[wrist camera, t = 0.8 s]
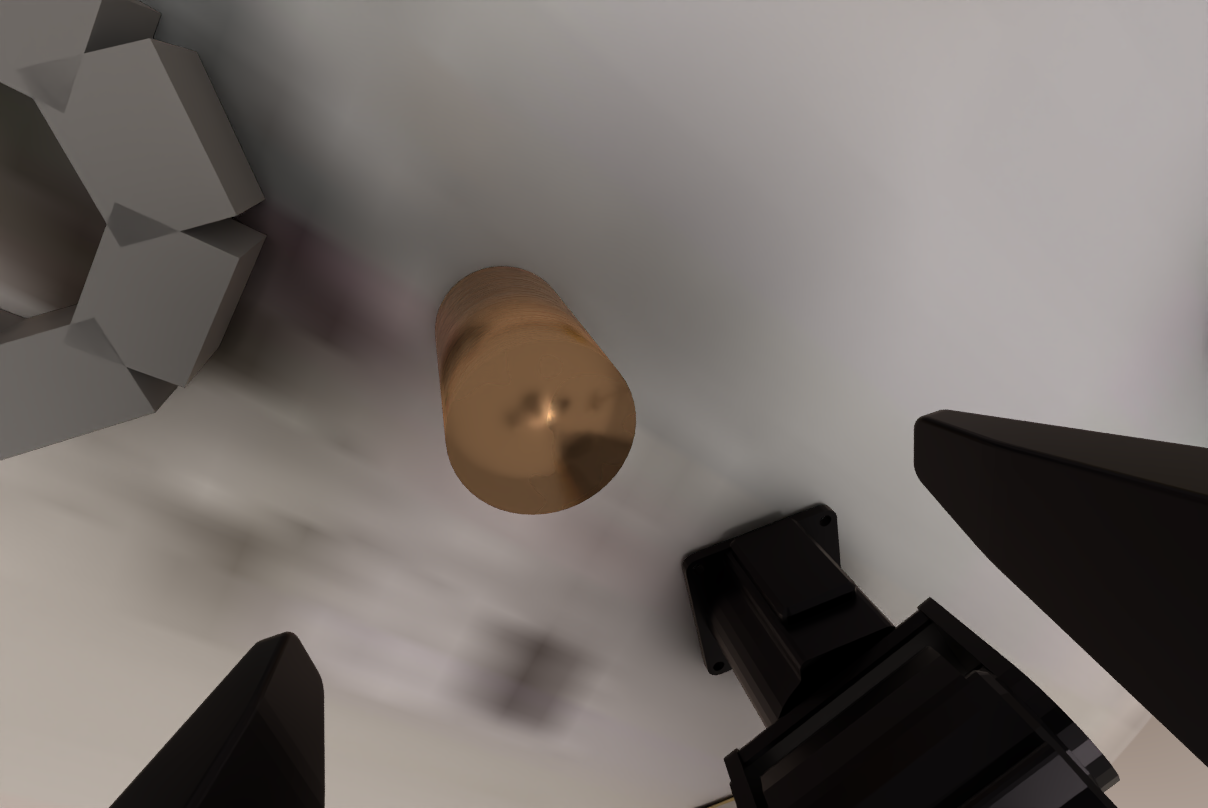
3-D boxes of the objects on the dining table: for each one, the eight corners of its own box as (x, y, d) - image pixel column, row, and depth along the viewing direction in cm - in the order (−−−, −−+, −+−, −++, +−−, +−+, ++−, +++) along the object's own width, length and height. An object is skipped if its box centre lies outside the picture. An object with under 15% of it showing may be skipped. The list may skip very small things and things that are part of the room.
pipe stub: (581, 369, 21) (652, 478, 15) (460, 409, 20) (482, 539, 14) (547, 249, 19) (613, 315, 13) (414, 289, 18) (415, 378, 12)
